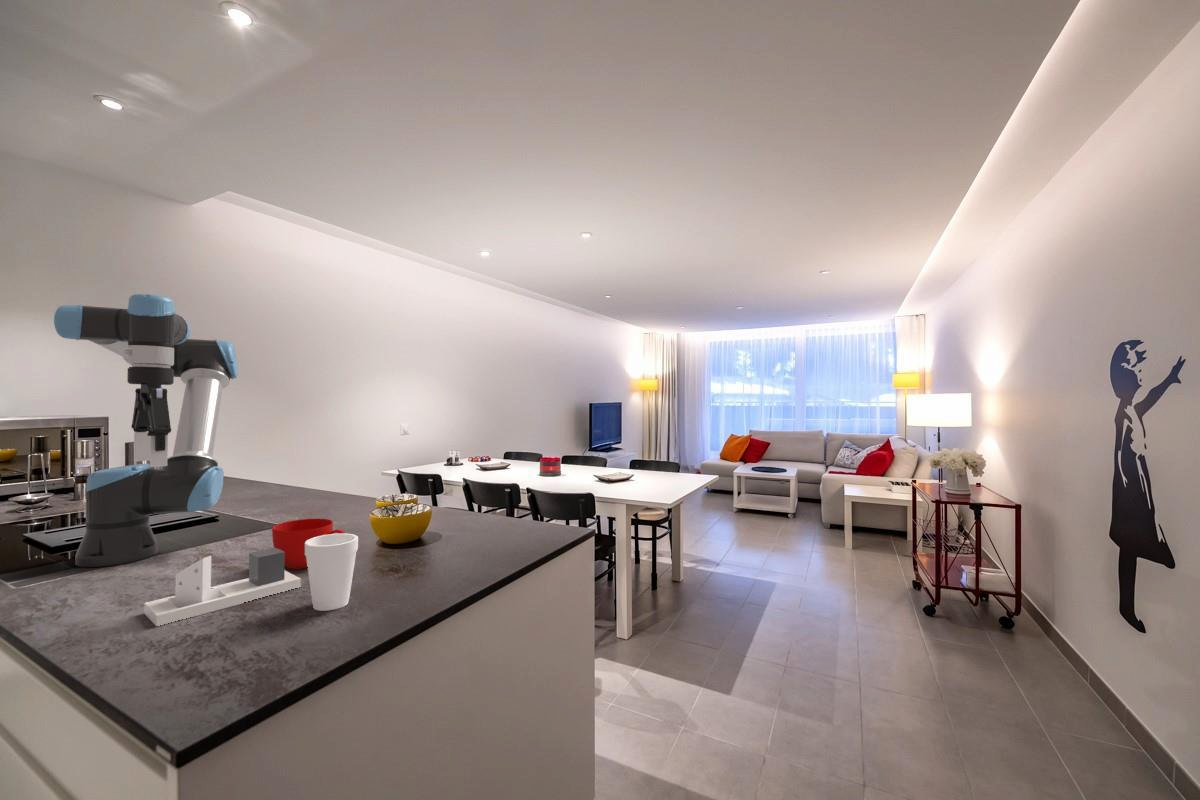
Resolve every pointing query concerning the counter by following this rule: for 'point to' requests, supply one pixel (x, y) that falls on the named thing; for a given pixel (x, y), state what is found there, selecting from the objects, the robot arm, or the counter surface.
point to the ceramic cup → (299, 538)
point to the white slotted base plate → (232, 589)
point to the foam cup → (331, 569)
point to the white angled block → (195, 584)
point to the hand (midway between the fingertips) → (150, 463)
